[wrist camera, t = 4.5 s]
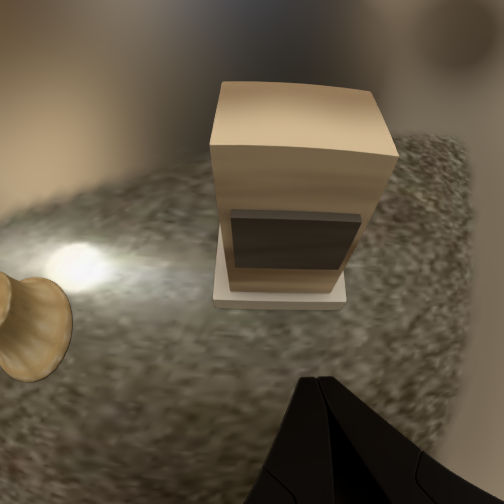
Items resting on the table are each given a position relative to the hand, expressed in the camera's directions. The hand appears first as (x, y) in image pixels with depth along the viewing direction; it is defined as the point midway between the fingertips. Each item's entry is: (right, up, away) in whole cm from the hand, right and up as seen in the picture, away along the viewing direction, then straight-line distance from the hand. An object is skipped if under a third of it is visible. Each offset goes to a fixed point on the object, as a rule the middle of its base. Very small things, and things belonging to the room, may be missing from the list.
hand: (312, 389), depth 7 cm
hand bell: (-18, -2, +12) cm, 22 cm away
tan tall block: (0, +3, +12) cm, 13 cm away
